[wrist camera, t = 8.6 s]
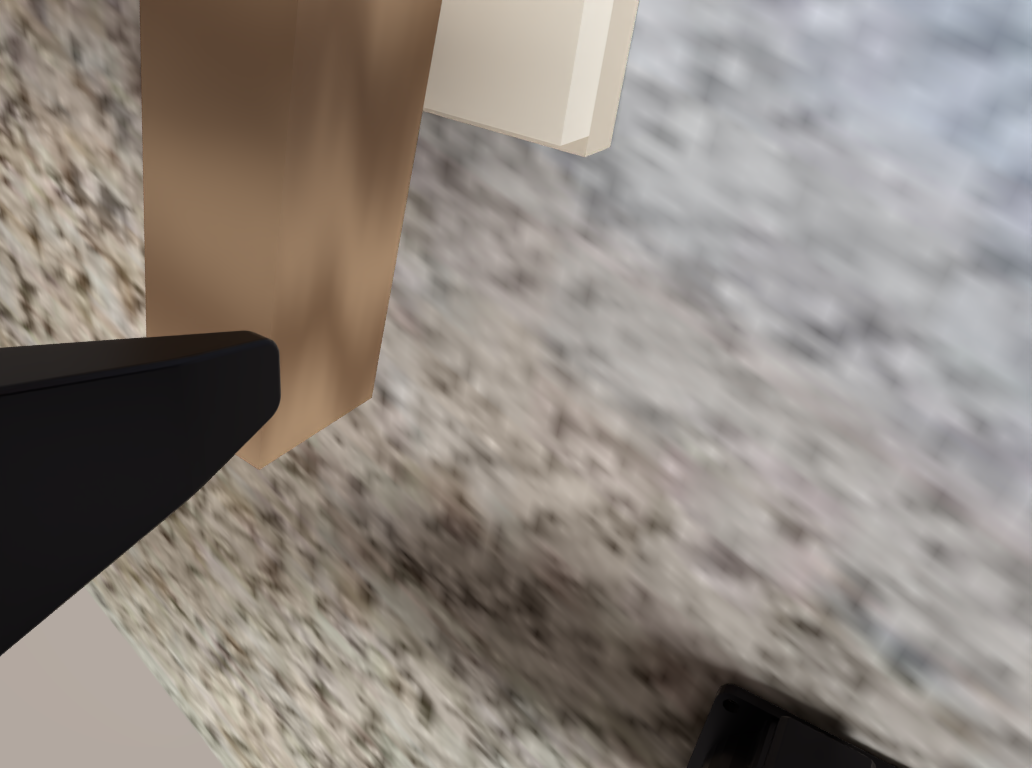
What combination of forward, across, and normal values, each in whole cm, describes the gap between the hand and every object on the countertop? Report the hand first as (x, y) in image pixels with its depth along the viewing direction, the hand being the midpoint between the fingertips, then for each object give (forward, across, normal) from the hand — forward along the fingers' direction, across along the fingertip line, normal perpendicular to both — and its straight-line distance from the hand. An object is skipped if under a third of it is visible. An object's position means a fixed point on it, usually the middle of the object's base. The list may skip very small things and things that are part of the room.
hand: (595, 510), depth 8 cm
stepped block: (+12, +11, -3) cm, 17 cm away
